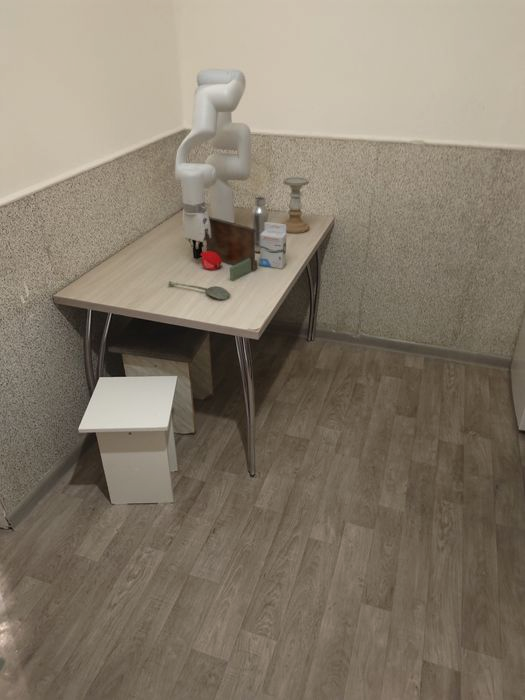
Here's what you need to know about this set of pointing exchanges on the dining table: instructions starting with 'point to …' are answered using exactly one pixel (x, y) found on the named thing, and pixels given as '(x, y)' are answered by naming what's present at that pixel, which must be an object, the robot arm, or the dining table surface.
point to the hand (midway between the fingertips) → (198, 257)
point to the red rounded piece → (210, 260)
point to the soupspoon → (209, 290)
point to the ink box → (273, 245)
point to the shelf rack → (233, 246)
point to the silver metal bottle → (259, 219)
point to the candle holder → (295, 205)
